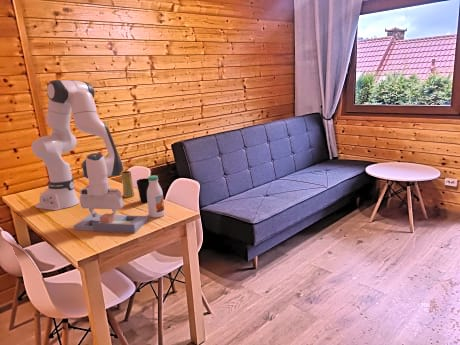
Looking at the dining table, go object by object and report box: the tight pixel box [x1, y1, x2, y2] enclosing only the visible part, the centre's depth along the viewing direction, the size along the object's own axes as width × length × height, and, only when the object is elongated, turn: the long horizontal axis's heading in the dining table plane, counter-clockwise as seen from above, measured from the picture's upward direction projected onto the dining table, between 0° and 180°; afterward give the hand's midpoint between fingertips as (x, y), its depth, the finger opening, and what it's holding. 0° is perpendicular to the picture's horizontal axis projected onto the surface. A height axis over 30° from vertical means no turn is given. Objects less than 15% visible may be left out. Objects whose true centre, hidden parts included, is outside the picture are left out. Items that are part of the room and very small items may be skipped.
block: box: [100, 213, 115, 223], centre depth 165 cm, size 4×4×4 cm
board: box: [73, 213, 149, 234], centre depth 167 cm, size 30×15×4 cm, turn 79°
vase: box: [120, 170, 135, 198], centre depth 206 cm, size 6×6×14 cm
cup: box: [136, 177, 149, 204], centre depth 196 cm, size 8×8×12 cm
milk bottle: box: [147, 174, 166, 219], centre depth 174 cm, size 8×8×20 cm
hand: (103, 217), depth 168 cm, fingers open, 8 cm apart
